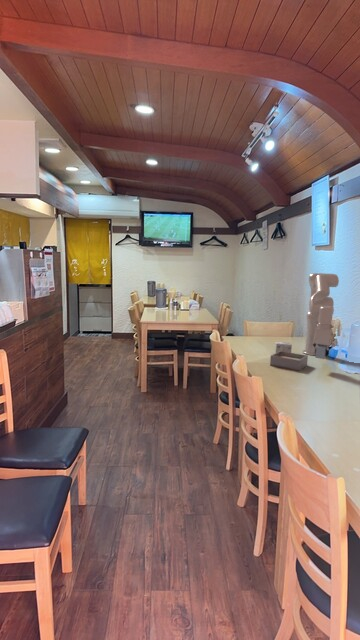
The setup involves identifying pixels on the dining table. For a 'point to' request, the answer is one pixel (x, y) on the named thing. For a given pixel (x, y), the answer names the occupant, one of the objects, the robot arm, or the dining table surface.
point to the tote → (289, 360)
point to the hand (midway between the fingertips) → (321, 355)
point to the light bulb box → (283, 347)
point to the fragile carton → (321, 351)
